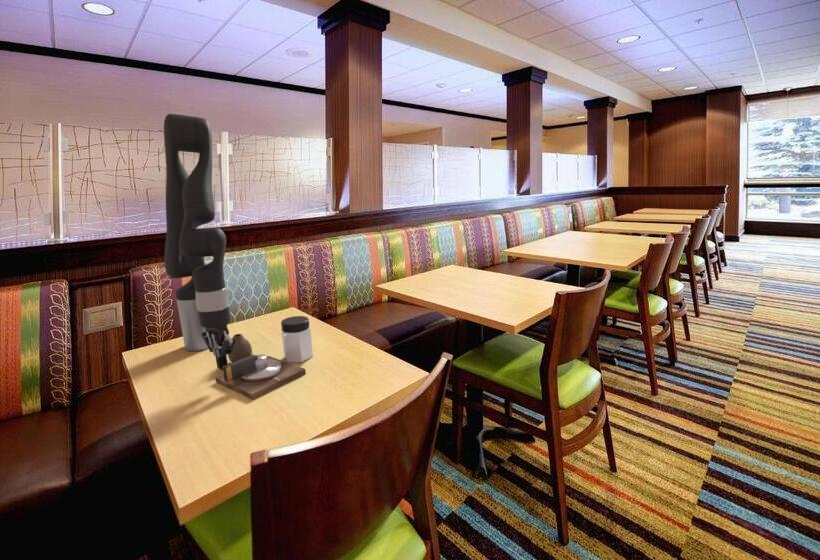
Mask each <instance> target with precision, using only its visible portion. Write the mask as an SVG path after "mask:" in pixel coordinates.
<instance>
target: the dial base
mask: <svg viewBox="0 0 820 560" xmlns="http://www.w3.org/2000/svg"><path fill="white" fill-rule="evenodd" d="M266 356H267V359H274V360H277V361H279V362H280V363H281V372H280V373H279V374H278V375H276V376H275V377H273V378H270V379H267V380H264V381H258V382H247V381H243V380H241V379H240V378H238V379H236V380H234V381H232V382H230V383H227V382H225V381H224V375H223V373H222V374H221V375H220V374H219V375H218V376H216V377H215V378H214V379H215V383H216V384H218V385H220V386H222V387H224V388H227V389H229V390H231V391H233V392H234V393H237V394H239V395H241V396H243V397H245V398H248V399H250V400H255V399H257V398H259V397H261V396H264V395H265V394H267V393H270V392H272V391H273V390H274V391H275V390H276V389H277V388H279V387H282V386H284V385H286V384H288V383H289V382H292V381H294V380H295V379H298V378H300V377H303V376H305V375H306V374H307V373H306V368H303V367H301V366H299V365H295V364H292V363H291V362H287V361H286V360H281V359H279V358H276V357H273V356H270V355H266Z"/></svg>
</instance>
